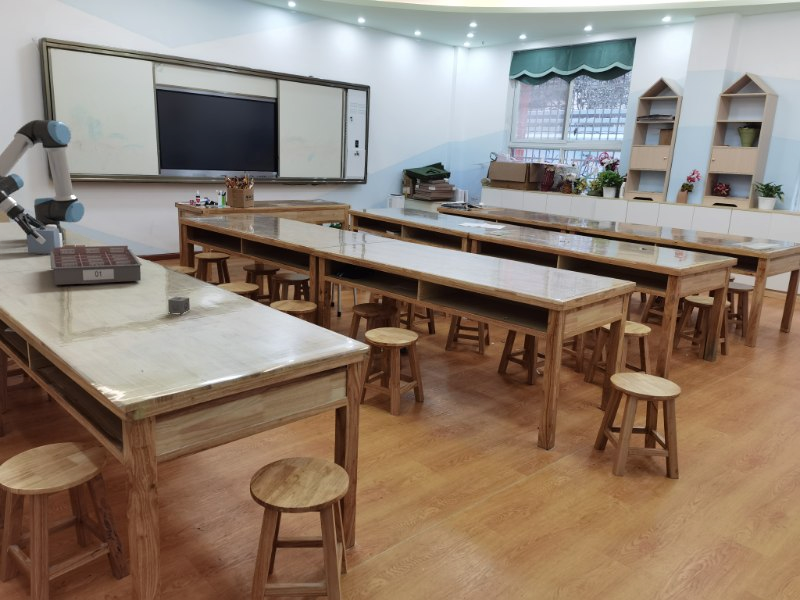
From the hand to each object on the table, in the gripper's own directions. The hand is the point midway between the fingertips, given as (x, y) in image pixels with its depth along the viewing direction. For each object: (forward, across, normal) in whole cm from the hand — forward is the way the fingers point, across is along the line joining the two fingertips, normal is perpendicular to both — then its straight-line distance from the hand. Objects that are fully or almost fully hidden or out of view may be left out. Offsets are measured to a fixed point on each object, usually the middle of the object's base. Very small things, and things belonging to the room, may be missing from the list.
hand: (48, 240), depth 298 cm
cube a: (+11, 0, +2) cm, 11 cm away
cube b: (+14, 0, +6) cm, 15 cm away
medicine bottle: (+2, -17, -7) cm, 18 cm away
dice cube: (+58, +116, +49) cm, 138 cm away
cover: (+2, 0, -6) cm, 6 cm away
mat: (+3, 0, -6) cm, 7 cm away
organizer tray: (+29, +55, +20) cm, 66 cm away
